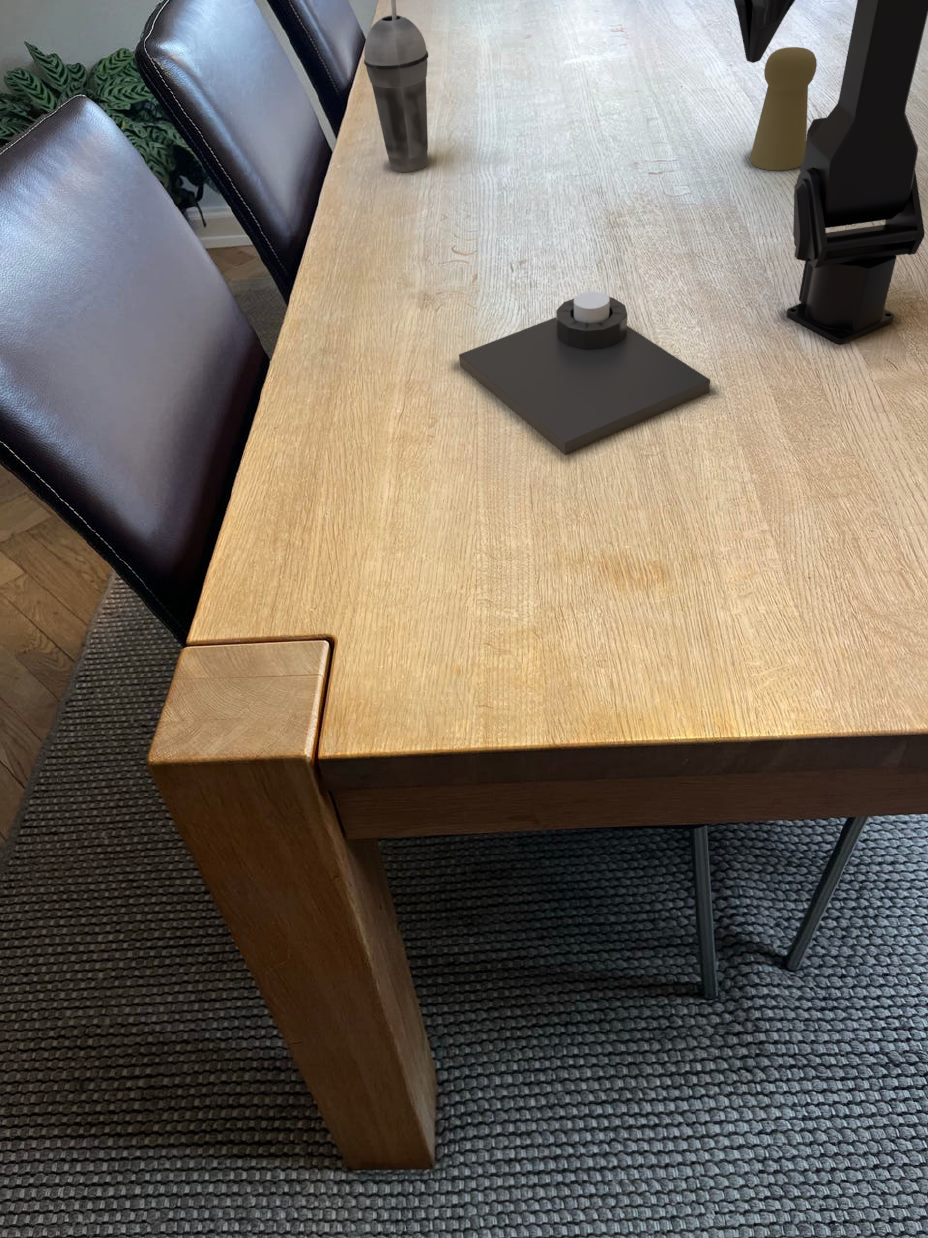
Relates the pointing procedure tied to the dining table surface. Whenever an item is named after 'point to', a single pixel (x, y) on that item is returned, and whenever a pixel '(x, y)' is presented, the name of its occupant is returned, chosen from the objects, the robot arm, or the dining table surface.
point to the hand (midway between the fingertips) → (753, 60)
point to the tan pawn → (784, 110)
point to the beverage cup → (399, 88)
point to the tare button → (591, 307)
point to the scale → (583, 376)
